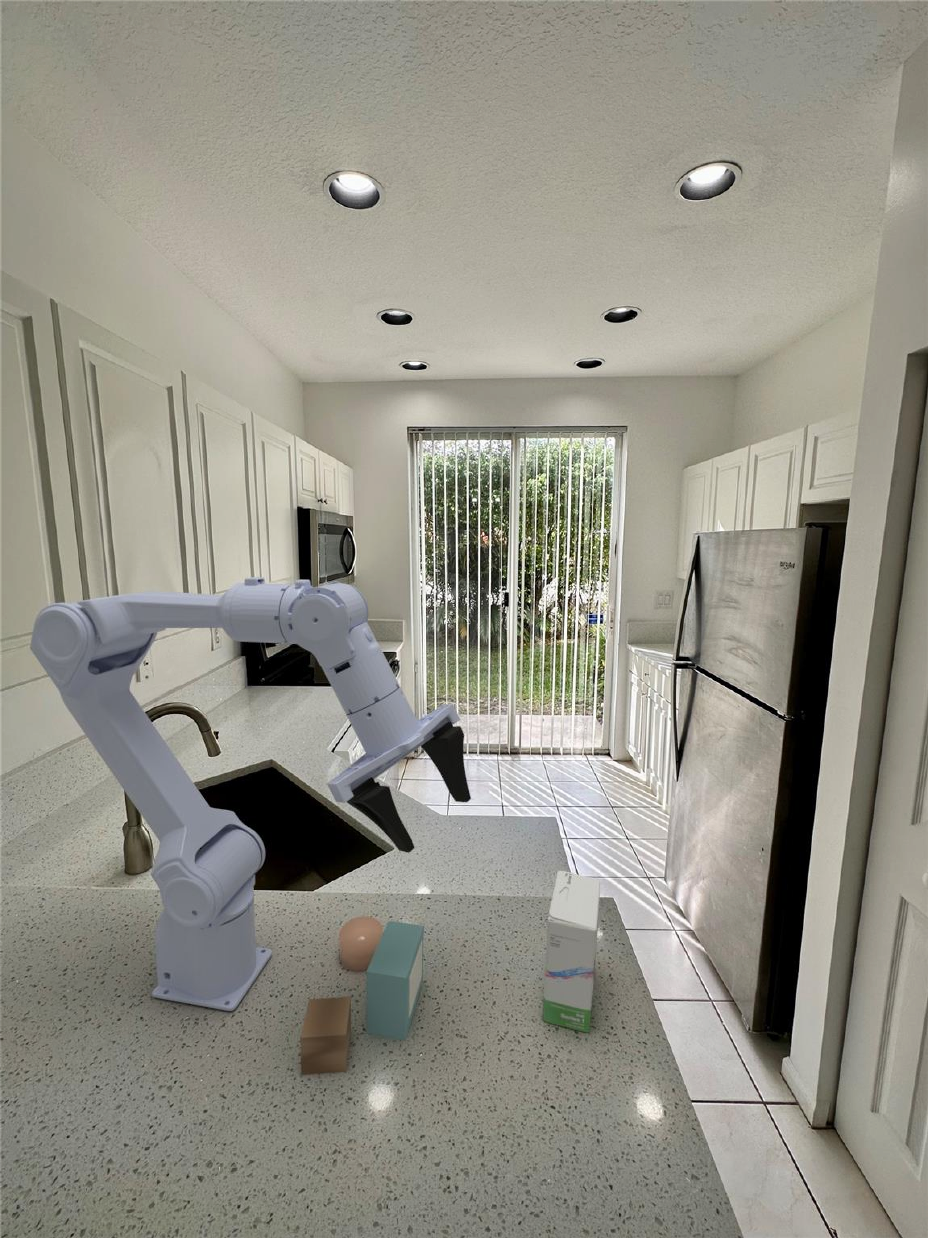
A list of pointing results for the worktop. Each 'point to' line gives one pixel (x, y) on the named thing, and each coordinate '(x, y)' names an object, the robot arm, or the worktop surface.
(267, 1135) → the worktop surface
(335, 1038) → the walnut cube
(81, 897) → the worktop surface
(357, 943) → the peach rounded dome
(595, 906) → the ink box
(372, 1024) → the teal block
